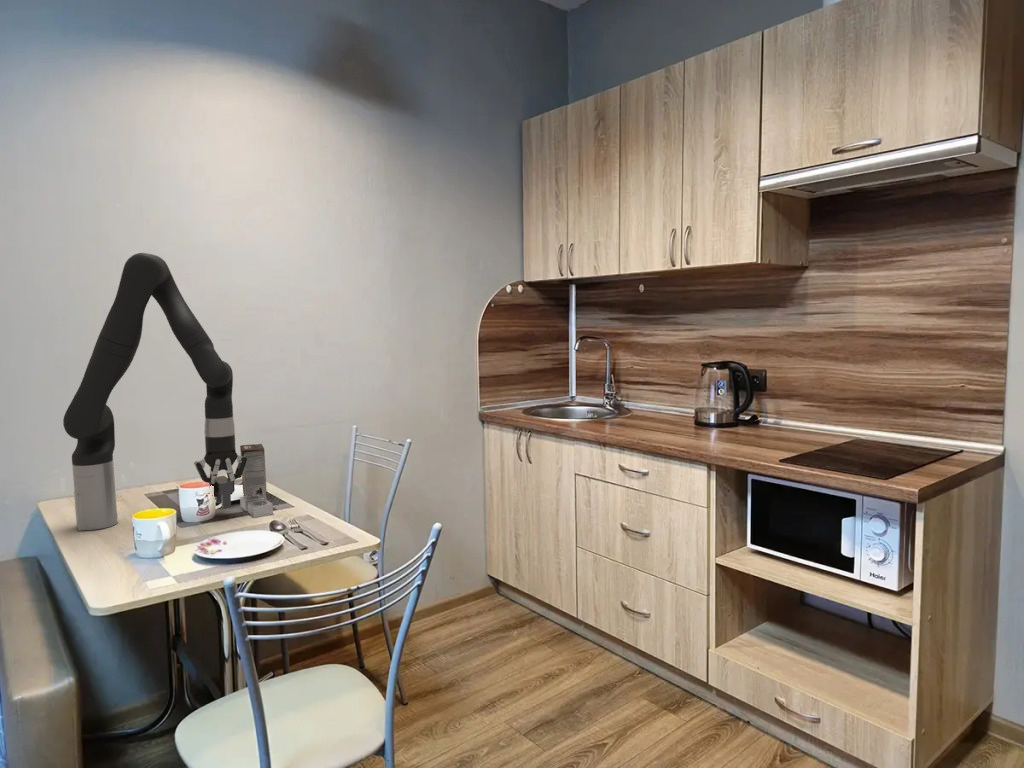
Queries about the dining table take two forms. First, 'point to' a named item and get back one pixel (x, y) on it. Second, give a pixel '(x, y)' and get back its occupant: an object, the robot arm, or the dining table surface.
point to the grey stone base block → (256, 505)
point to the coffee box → (254, 470)
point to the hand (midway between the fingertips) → (222, 494)
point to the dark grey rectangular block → (224, 491)
